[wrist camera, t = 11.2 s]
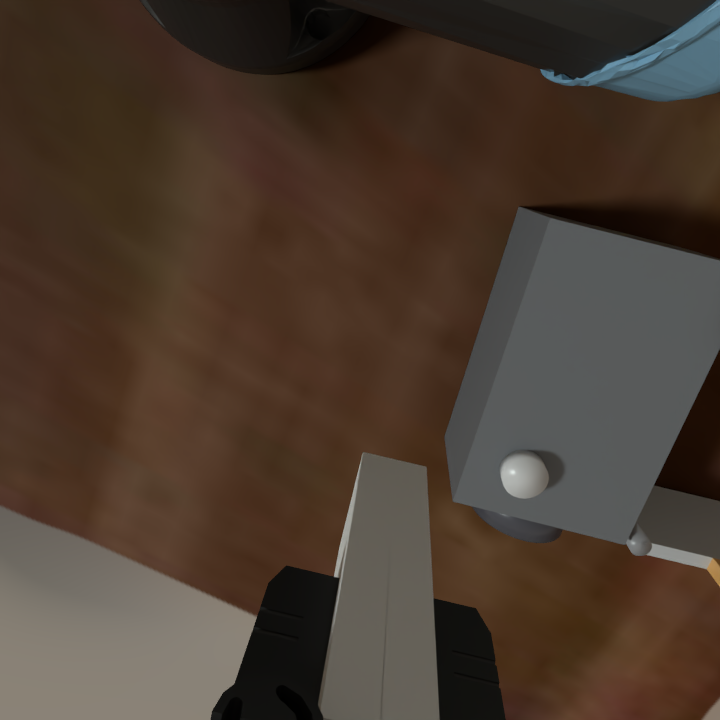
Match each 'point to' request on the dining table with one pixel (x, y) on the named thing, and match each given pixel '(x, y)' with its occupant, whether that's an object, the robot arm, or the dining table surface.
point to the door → (679, 529)
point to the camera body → (580, 378)
